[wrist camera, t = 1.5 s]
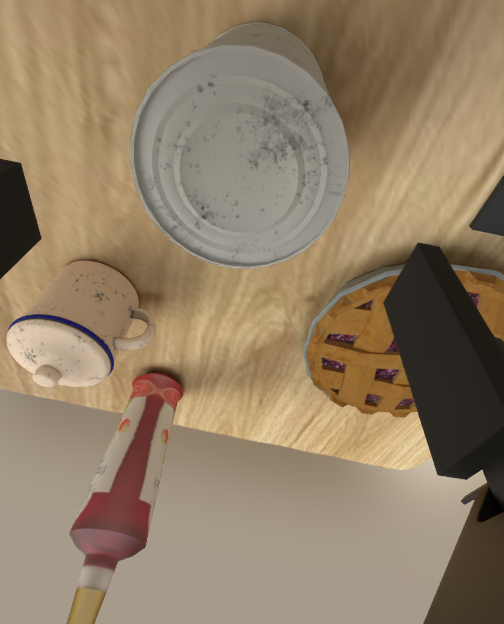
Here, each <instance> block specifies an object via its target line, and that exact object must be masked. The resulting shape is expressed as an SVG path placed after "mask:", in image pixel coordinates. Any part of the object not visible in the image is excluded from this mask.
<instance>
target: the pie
mask: <svg viewBox="0 0 504 624" xmlns="http://www.w3.org/2000/svg"><path fill="white" fill-rule="evenodd" d="M450 265H451V266H452V268H453V270H454V271H455V273H456V275H457V276H458V278H459V280H460V281H461V283H462V284H463V286H464V288H465V289H466V291H467V293H468V294H469V296H470V297H471V299H472V301H473V302H474V304H475V306H476V307H477V309H478V311H479V312H480V314H481V315H482V317H483V319H484V320H485V322H486V324H487V325H488V327H489V328H490V330H491V332H492V333H493V335H494V337H496V338H500V339H502V340H503V341H504V275H503V274H502V273H500V272H498V271H495V270H488V269H481V268H474V267H468V266H461V265H454V264H450ZM404 266H405V264H401V265H395V266H388V267H381V268H379V269H377V270H374V271H372V272H370V273H367V274H365V275H363V276H360V277H358V278H356V279H353V280H351V281H349V282H347V283H346V284H345V285H344V286H343V288H342V289H341V290H340V291H339V292H338V293H337V294H336V295H335V296H334V298H333V299H332V300H331V301H330V302H329V303H328V304H327V306H326V307H325V308H324V309H323V310H322V312H321V313H320V314H319V315H318V316H317V317H316V318H315V319H314V320H313V321H312V324H311V327H310V330H309V333H308V336H307V339H306V342H305V345H304V349H303V353H304V358H305V363H306V368H307V372H308V376H309V377H310V378H311V379H312V380H313V383H314V385H315V386H316V387H317V388H319V389H320V390H322V391H323V392H324V393H325V394H326V395H327V396H329V398H330V400H331V401H333V402H334V403H336V404H338V405H339V406H341V407H344V406H346V405H348V404H349V405H351V406H354V407H356V408H357V409H358V410H359V411H360V412H361V413H365V414H374V413H376V412H378V411H380V412H390V413H391V414H392V415H393V416H394V417H406V416H407V415H408V414H409V413H410V412H417V408H416V405H415V402H414V399H413V396H412V392H411V389H410V386H409V383H408V380H407V377H406V373H405V370H404V367H403V364H402V361H401V358H400V354H399V351H398V348H397V345H396V342H395V339H394V336H393V332H392V329H391V326H390V323H389V320H388V317H387V313H386V310H385V307H384V304H383V302H384V300H385V299H386V297H387V295H388V293H389V292H390V290H391V288H392V286H393V285H394V283H395V281H396V280H397V278H398V276H399V274H400V273H401V271H402V269H403V268H404Z"/></svg>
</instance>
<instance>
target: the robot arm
mask: <svg viewBox="0 0 504 624" xmlns="http://www.w3.org/2000/svg"><path fill="white" fill-rule="evenodd" d="M40 240H41V235H40V231H39V228H38V224H37V220H36V217H35V213H34V209H33V206H32V202H31V198H30V195H29V191H28V187H27V184H26V180H25V176H24V173H23V169H22V165H21V163H18V162H13V161H8V160H3V159H0V279H1V278H2V277H3V276H4V275H5V274H6V273H7V272H8V271H9V270H10V269H11V268H12V267H13V266H14V265H15V264H16V263H17V262H18V261H19V260H20V259H21V258H22V257H23V256H24V255H25V254H26V253H27V252H28V251H29V250H30V249H31V248H32V247H33V246H35V245H36V244H37V243H38V242H39V241H40ZM383 304H384V307H385V310H386V313H387V317H388V320H389V323H390V326H391V329H392V332H393V336H394V339H395V342H396V345H397V348H398V351H399V354H400V358H401V361H402V364H403V367H404V370H405V373H406V377H407V380H408V383H409V386H410V389H411V392H412V396H413V399H414V402H415V405H416V408H417V411H418V415H419V418H420V421H421V424H422V427H423V430H424V434H425V437H426V440H427V443H428V446H429V449H430V453H431V456H432V459H433V462H434V465H435V468H436V471H437V474H438V475H439V476H446V477H452V478H459V479H465V480H467V479H468V478H470V477H471V476H473V475H474V474H476V473H477V472H479V471H480V470H483V472H484V475H485V477H486V480H487V482H488V483H486V484H484V485H483V486H481V487H479V488H478V489H476V490H475V491H473V492H471V493H470V494H468V495H466V496H465V497H464V498H463V499H462V500H461V502H462V503H463V504H467V503H469V502H470V501H472V500H475V501H474V503H473V506H472V508H471V510H470V513H469V515H468V518H467V520H466V522H465V525H464V527H463V530H462V532H461V535H460V537H459V539H458V542H457V544H456V546H455V549H454V551H453V554H452V556H451V559H450V561H449V564H448V566H447V568H446V571H445V573H444V576H443V578H442V580H441V583H440V585H439V587H438V590H437V593H436V595H435V597H434V599H433V602H432V604H431V607H430V609H429V611H428V614H427V617H426V619H425V621H424V624H504V341H503V340H502V339H500V338H496V337H494V335H493V333H492V332H491V330H490V328H489V327H488V325H487V324H486V322H485V320H484V319H483V317H482V315H481V314H480V312H479V311H478V309H477V307H476V306H475V304H474V302H473V301H472V299H471V297H470V296H469V294H468V293H467V291H466V289H465V288H464V286H463V284H462V283H461V281H460V280H459V278H458V276H457V275H456V273H455V271H454V270H453V268H452V266H451V265H450V263H449V262H448V260H447V258H446V257H445V255H444V253H443V252H442V250H441V249H440V247H438V246H433V245H428V244H423V243H418V244H417V245H416V247H415V249H414V250H413V252H412V254H411V256H410V257H409V259H408V261H407V262H406V264H405V266H404V268H403V269H402V271H401V273H400V274H399V276H398V278H397V280H396V281H395V283H394V285H393V286H392V288H391V290H390V292H389V293H388V295H387V297H386V299H385V300H384V302H383Z"/></svg>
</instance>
